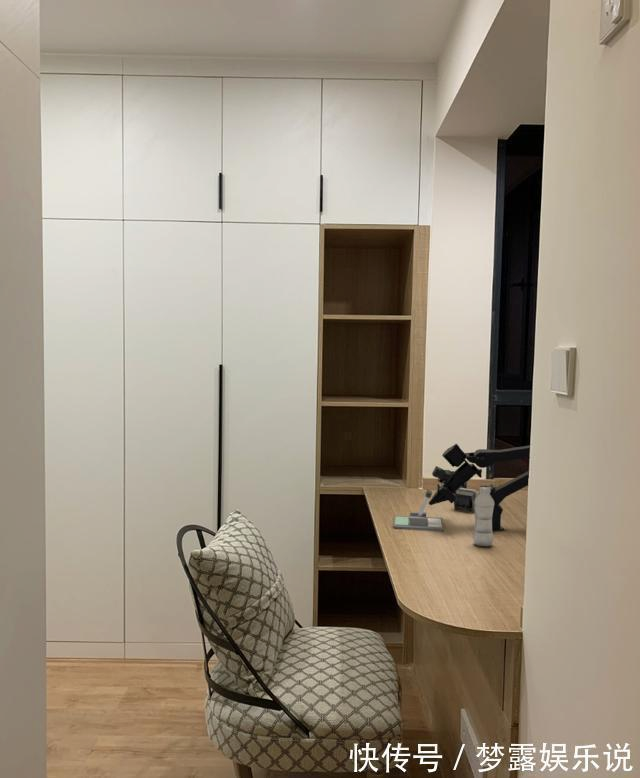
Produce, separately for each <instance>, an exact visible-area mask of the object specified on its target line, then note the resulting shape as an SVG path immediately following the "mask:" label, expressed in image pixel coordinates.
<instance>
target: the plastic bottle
mask: <svg viewBox="0 0 640 778" xmlns="http://www.w3.org/2000/svg"><path fill="white" fill-rule="evenodd" d="M490 488H491V487H490V486H489V485H486V484H482V485H481V484H480V485H478V491H477V492H478V493H477V496H476V498H475V500H474V508H475V511H474V517H475V520H474V530H473V534H472V540H473V541H472V542H473V543H474V544H475V545H476V546H479V547H491V546H492V544H493V543H494V532H493V531H492V514H493V508H494V500H493V498H492V496H491V495H490V492H491V490H490Z"/></svg>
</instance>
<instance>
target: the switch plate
mask: <svg viewBox="0 0 640 778" xmlns="http://www.w3.org/2000/svg"><path fill="white" fill-rule="evenodd" d="M418 512H419V511H416V510H415V511H413V510H412V511H411V510H410V511H409V515H394V516H393V524H392V529H393V528H397V529H396V530H411V529H413V531H414V530H416V531H431V532H445V528H444V521H443V517H433V516H432V517H429V516H427V511H424V512H423V514H422V517H417V515H418Z"/></svg>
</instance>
